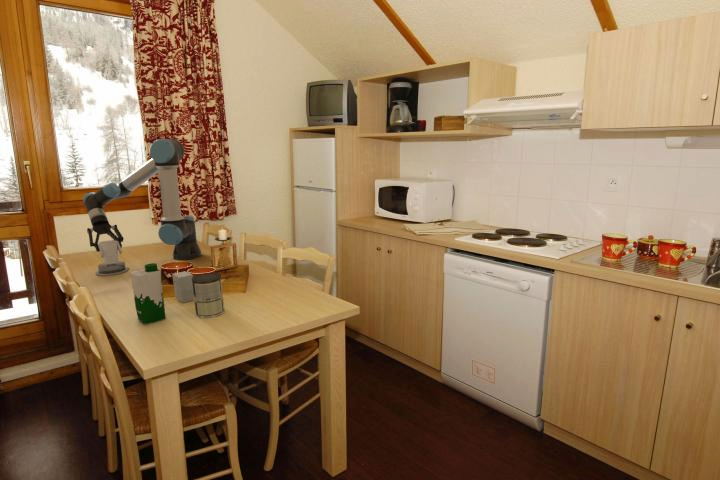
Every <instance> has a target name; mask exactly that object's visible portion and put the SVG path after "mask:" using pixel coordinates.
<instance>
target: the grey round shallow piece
mask: <svg viewBox="0 0 720 480" xmlns="http://www.w3.org/2000/svg"><path fill="white" fill-rule="evenodd" d="M97 268H98V270H97V271H95V276H99V277H108V276H117V275H121V274H124V273H127V272H128V270H130V267H128V266H126V262H125V260H124V261H123V260H118V261H116V262H111V263H104V262H102V263H100V264H98V265H97Z"/></svg>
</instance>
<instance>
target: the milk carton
mask: <svg viewBox="0 0 720 480" xmlns="http://www.w3.org/2000/svg"><path fill="white" fill-rule="evenodd" d="M130 279H131V285H132V286H131V287H132V291H133V298H134V306H135V311H136V314H137V319H138V321H140V322H141V323H143V324H144V325H149V324H152V323H153V324H154V323H156V322H159V321H163V320H166V318H167V317H166V309H165V308H166V307H165V299H164V294H163V293H164V292H163V285H162V271H161V270H159V269H158V263H154V262H153V263H152V262H151V263H147V264H144V269H138V270H136V271H131V272H130Z"/></svg>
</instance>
